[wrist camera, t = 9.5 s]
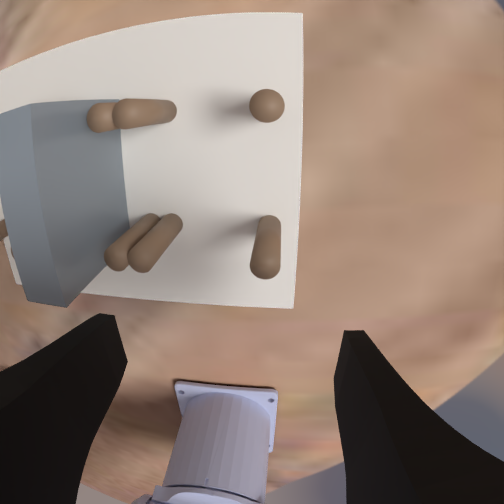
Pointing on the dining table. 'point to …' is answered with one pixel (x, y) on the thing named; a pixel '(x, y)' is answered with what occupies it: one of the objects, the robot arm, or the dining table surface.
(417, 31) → the dining table surface
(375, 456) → the robot arm
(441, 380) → the dining table surface
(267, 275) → the peg rack
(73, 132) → the slate grey rectangular block
